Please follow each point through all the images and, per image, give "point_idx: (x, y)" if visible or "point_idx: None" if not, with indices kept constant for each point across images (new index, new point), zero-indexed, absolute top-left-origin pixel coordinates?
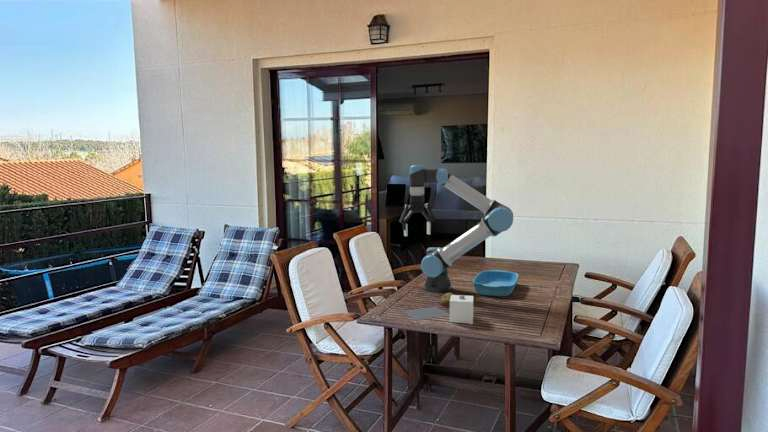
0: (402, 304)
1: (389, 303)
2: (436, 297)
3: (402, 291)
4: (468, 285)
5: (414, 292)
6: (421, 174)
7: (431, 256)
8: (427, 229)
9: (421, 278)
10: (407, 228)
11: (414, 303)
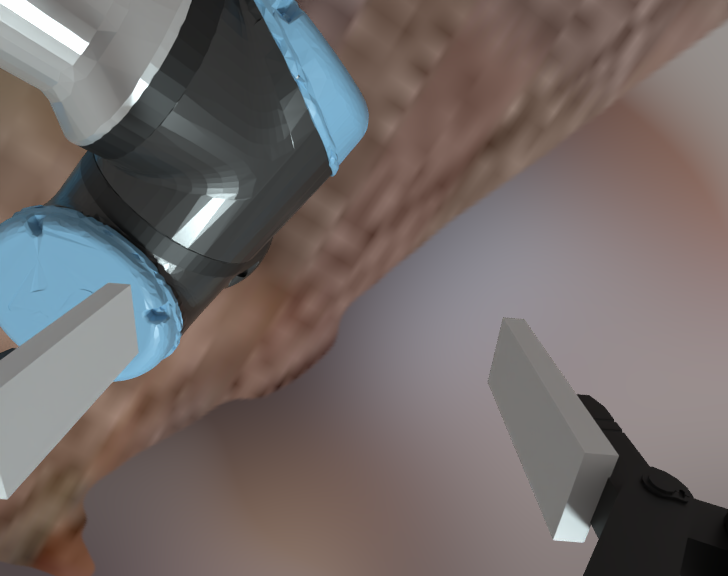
0: (539, 40)
1: (581, 100)
2: None
3: (389, 263)
4: (10, 181)
5: (347, 216)
6: None
7: (300, 19)
8: (98, 373)
9: (183, 410)
10: (546, 387)
11: (473, 18)
